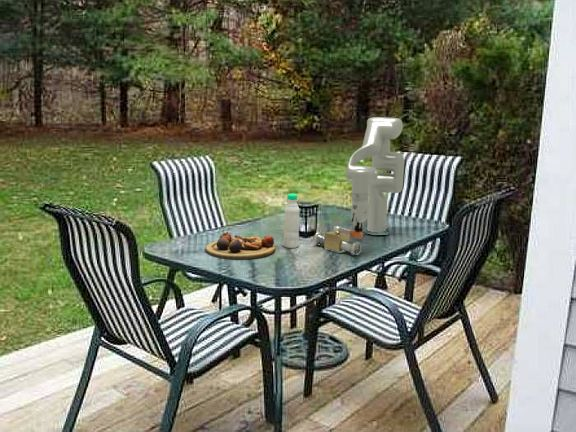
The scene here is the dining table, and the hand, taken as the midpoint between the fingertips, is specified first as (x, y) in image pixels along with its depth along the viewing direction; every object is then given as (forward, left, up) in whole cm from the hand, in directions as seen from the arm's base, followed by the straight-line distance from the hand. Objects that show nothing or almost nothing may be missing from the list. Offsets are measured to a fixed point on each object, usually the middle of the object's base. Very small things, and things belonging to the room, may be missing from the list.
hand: (358, 236), depth 283 cm
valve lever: (+4, -3, 0) cm, 5 cm away
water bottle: (+16, -27, -8) cm, 33 cm away
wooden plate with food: (+38, -38, -9) cm, 54 cm away
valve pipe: (+4, -9, -8) cm, 13 cm away
